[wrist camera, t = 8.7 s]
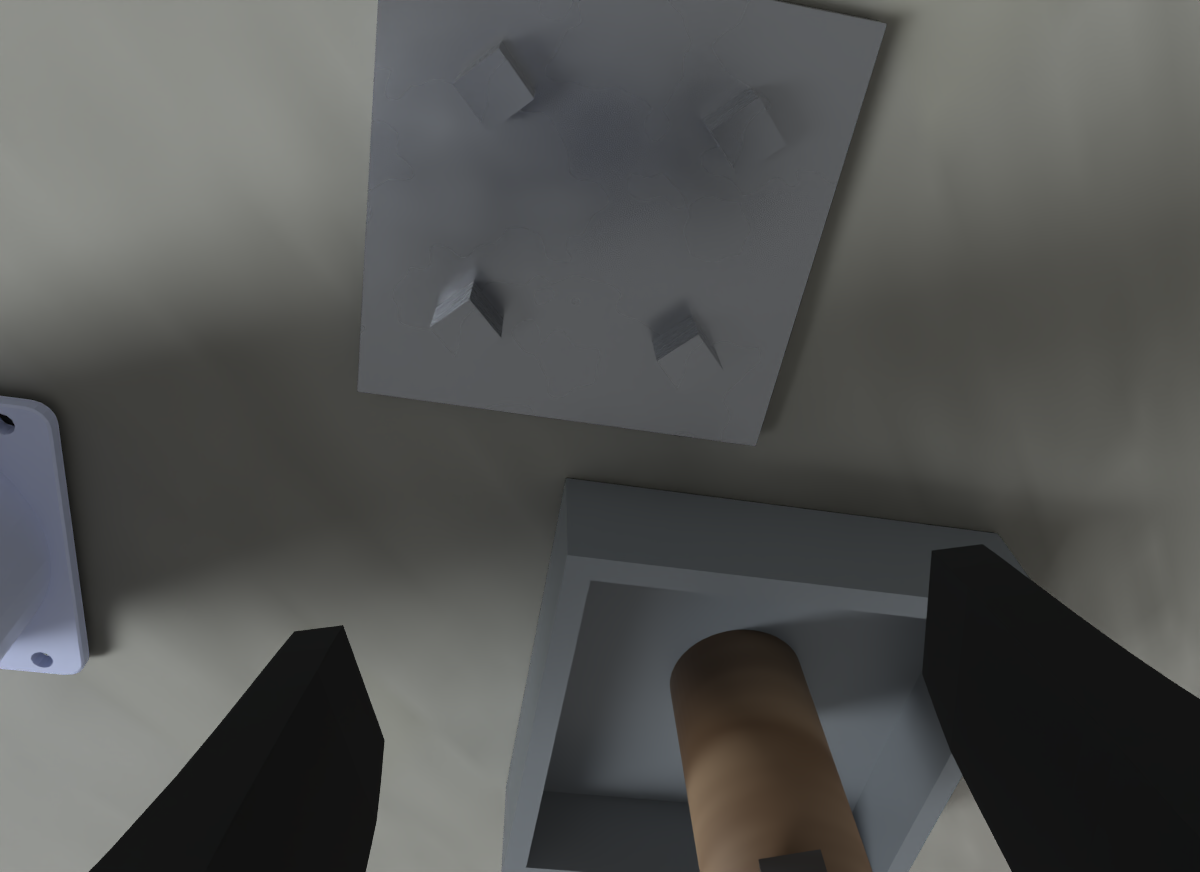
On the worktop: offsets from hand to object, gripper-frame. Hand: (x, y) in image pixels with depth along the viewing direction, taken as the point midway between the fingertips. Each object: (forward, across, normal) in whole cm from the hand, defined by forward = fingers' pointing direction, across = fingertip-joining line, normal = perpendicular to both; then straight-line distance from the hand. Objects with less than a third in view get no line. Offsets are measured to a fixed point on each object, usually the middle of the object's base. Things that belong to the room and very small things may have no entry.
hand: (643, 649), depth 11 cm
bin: (+10, -2, +11) cm, 15 cm away
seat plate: (+10, 0, -2) cm, 10 cm away
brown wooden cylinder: (+9, -2, +10) cm, 14 cm away
